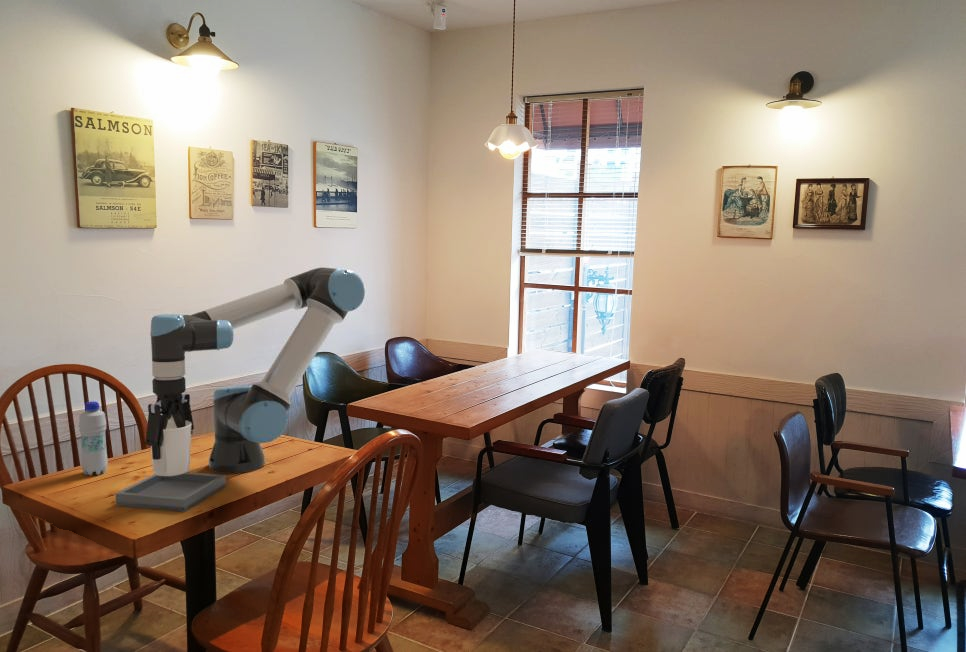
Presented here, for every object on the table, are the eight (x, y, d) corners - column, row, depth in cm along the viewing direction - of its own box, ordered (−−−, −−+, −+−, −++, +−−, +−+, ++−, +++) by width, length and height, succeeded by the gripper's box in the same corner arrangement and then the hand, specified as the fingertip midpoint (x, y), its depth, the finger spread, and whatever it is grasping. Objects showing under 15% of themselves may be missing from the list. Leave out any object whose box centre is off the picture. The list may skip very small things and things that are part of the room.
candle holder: (200, 467, 187) (199, 421, 185) (177, 479, 177) (175, 430, 176) (166, 463, 189) (165, 418, 187) (141, 475, 179) (139, 427, 178)
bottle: (113, 469, 204) (110, 399, 201) (101, 477, 197) (98, 404, 195) (88, 469, 203) (85, 398, 201) (76, 476, 197) (72, 404, 194)
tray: (162, 481, 194) (162, 470, 194) (225, 486, 191) (225, 475, 191) (115, 505, 176) (115, 493, 176) (184, 511, 173) (184, 499, 173)
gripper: (181, 369, 192) (183, 452, 194) (126, 384, 170) (129, 477, 173) (207, 370, 190) (209, 454, 193) (154, 386, 169) (157, 480, 171)
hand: (171, 465), depth 183 cm, fingers closed on candle holder, 9 cm apart
